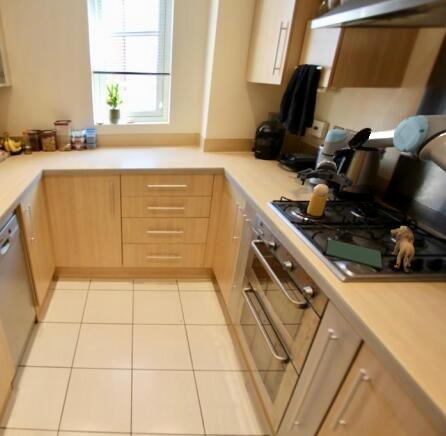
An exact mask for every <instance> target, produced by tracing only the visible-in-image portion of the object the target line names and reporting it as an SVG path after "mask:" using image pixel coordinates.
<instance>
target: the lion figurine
mask: <svg viewBox="0 0 446 436" xmlns="http://www.w3.org/2000/svg"><path fill="white" fill-rule="evenodd" d="M390 233H391V236H392V237H395V238H394V239H395V246H394V249H393V251H392V252H391V254H392V255H394V256H397V257H396V264H395V265H393V266H394V268H395V269H400V266H401V263H402V262H401V260H402V259H403V263H402V264H403V270H404V272H405V273H409V270H408V268H407V267H409V268H410V267H411V261H412V260H413V258H414V256H415V247H414V243H415V238H414V234H413V232H412V230H411V229H410V228H409V227H408V226H405V225H400V227H399V228H396V229H391V230H390ZM403 257H404V258H403ZM397 264H398V265H397Z"/></svg>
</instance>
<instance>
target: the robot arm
mask: <svg viewBox="0 0 446 436" xmlns="http://www.w3.org/2000/svg"><path fill="white" fill-rule="evenodd" d="M370 132H371V134H370V136H369V139H368V140H367V141H366V142H365V143H364V144H363V146H366V147H376V148H375V149H389V148H390V149H391V148H395V149H396V150H397V151H399V152H401V153H406V154H407V153H411V154H413V155H414V156H416V158H418V159H419V160H421V162H432V163H433V164H435V165H436V166H437V167H438V168H439V169H441V170H442V171H443V172H444V173H446V114H431V115H423V114H420V115H414V116H410V117H406V118H404V119H403V120H402V121H401V122H400V123H398V125H397V126H396V127H394V128H389V129H381V130H373V131H370ZM357 133H358V132H357ZM357 133H348V131H347V130H345V129H340V128H339V129H337V128H334V129H329V130H328V132H327V133H326V135H325V138H324V143H323V147H322V151H321V154H320V156H319V160H318V164H317V166H316V169H315V170H313V169H312V167H309V168H306V169H304V170H301V171H300V170H299V171H298V172H297V173H296V179H300V180H299V181H300V182H301V186H304V185H305V183H306V180H309V179H319V180H322V181H330V182H334V183H336V184H338V185H340V189H339V192H340V193H343V191H344V189H347V188H348V187H349V188H351V187H353V185H354V183H355V182H354V180H353V179H352V178H350V177H349V176H347V175H346V174H345V173H344V172H341V173H340V174H339V173H338V172H337V170H338V169H337V168H338V165H337V166H336V163H335V162H334V161H333V156H334V152H335V151H336V150H339V149H342V148H345V147H346V146H347V144H348V142H349V141H350V140H351V139H352V138H353V137H354V136H355V135H356V134H357ZM325 155H326V156H325Z"/></svg>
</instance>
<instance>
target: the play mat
mask: <svg viewBox="0 0 446 436" xmlns="http://www.w3.org/2000/svg"><path fill="white" fill-rule="evenodd" d="M381 253H382V251H380V250H377V249H372V248H368V247H364V246H359V245H355V244H351V243H348V242H343V241H338V240H334V239H328V241H327V248H326V253H325V254H326V256H330V257H333V258H338V259H341V260H346V261H350V262H353V263H357V264H361V265H365V266H369V267H372V268H377V269H380V270H382V269H383V263H382V254H381Z"/></svg>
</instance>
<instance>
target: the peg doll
mask: <svg viewBox="0 0 446 436" xmlns="http://www.w3.org/2000/svg"><path fill="white" fill-rule="evenodd" d="M329 191H330V190H329V186H328V185H326V184H324V183H319V184H317V185H315V186H314V188H313V192H312V193H311V196H310V200H309V203H308V206H307V210H306V213H307V214H308V215H311V216H313V217H314V216H315V217H321V216H323V213H324V209H325V207H326V204H327V200H328V194H329Z"/></svg>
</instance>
